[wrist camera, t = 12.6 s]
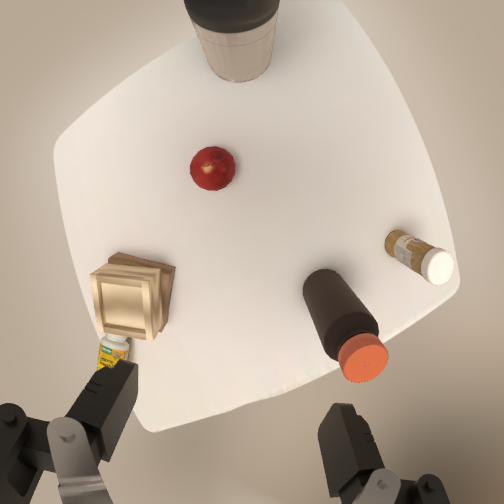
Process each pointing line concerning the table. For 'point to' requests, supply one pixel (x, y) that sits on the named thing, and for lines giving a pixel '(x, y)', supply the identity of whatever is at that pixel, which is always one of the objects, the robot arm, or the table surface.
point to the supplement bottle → (112, 350)
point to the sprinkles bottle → (420, 257)
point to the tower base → (166, 277)
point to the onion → (212, 168)
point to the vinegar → (344, 326)
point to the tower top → (127, 300)
